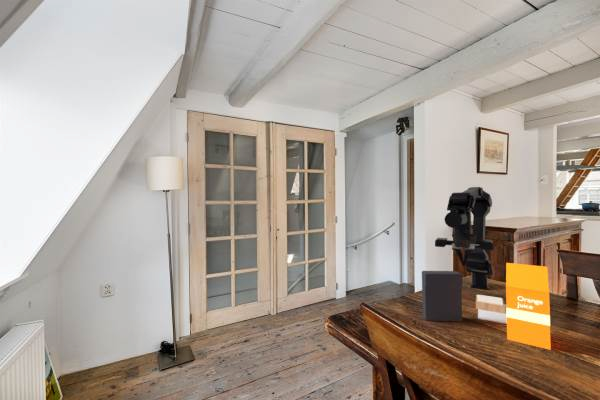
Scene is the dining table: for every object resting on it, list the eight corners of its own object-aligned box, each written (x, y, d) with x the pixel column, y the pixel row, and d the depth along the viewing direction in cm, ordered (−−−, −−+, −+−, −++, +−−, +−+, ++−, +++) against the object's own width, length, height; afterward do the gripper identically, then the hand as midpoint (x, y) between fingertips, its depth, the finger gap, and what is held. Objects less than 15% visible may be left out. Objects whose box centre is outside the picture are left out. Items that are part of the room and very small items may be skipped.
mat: (478, 301, 102) (478, 300, 102) (534, 309, 94) (534, 308, 94) (477, 318, 87) (477, 317, 87) (544, 330, 78) (544, 329, 78)
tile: (476, 294, 101) (503, 297, 97) (476, 301, 101) (503, 305, 97) (475, 300, 94) (504, 305, 90) (475, 308, 94) (505, 313, 90)
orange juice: (508, 328, 80) (506, 260, 80) (549, 338, 74) (547, 264, 75) (506, 339, 74) (505, 265, 74) (551, 350, 68) (549, 270, 69)
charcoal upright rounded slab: (456, 316, 89) (455, 270, 89) (463, 322, 85) (462, 273, 85) (421, 315, 90) (420, 270, 90) (426, 321, 86) (425, 273, 86)
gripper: (432, 226, 103) (433, 268, 103) (493, 228, 93) (494, 274, 93) (436, 223, 112) (437, 262, 112) (492, 225, 102) (493, 266, 102)
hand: (463, 266), depth 105 cm, fingers closed
